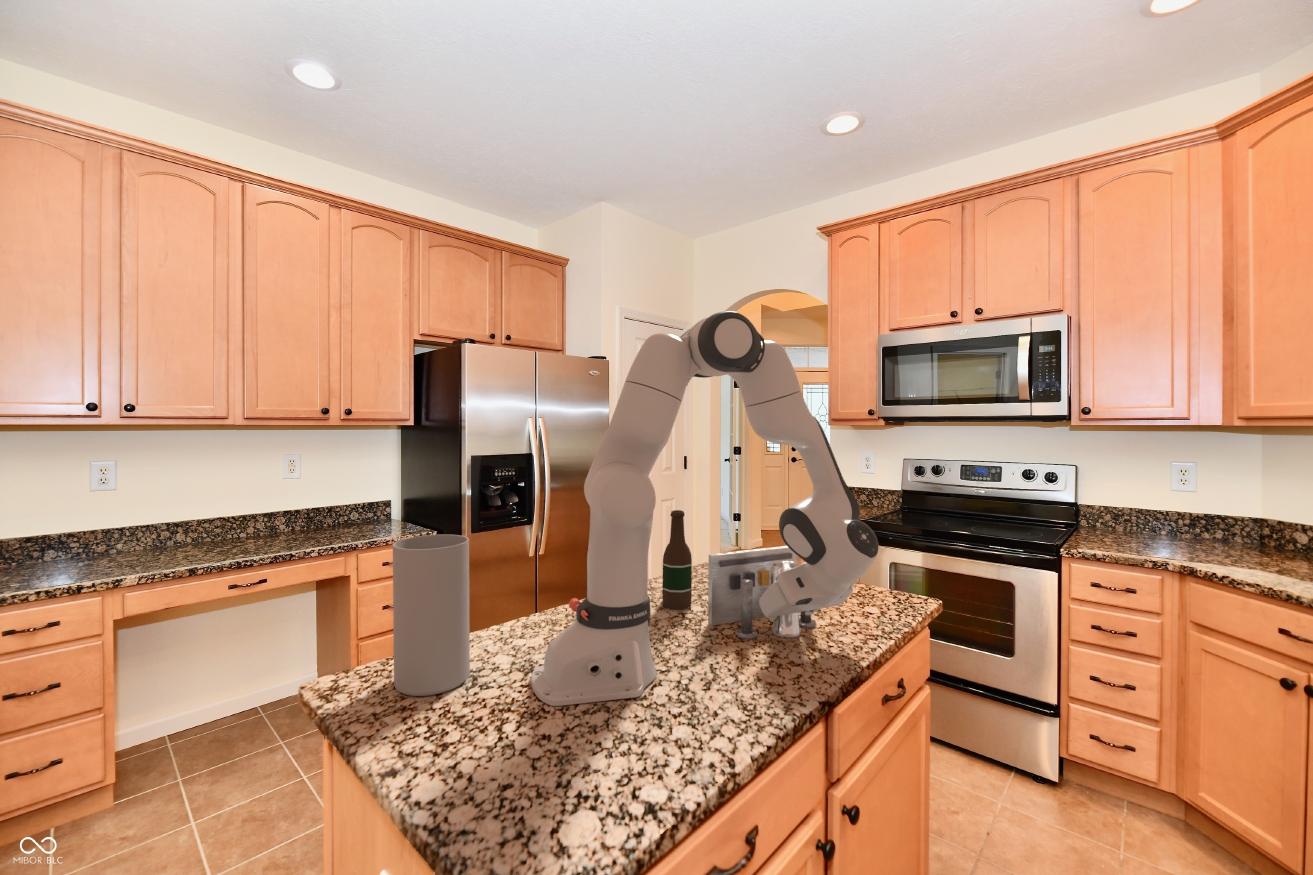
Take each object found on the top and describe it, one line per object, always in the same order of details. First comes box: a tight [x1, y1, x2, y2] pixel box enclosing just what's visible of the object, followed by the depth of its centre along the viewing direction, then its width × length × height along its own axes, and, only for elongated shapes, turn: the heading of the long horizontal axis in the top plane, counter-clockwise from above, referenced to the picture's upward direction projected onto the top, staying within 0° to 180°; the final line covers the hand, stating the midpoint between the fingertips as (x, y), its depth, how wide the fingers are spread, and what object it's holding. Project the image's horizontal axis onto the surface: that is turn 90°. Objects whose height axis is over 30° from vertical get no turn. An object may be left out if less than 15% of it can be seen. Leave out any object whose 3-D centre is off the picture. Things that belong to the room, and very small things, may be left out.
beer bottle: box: [662, 509, 693, 611], centre depth 139 cm, size 8×8×24 cm
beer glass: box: [771, 562, 801, 639], centre depth 121 cm, size 7×7×15 cm
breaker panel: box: [707, 545, 798, 627], centre depth 130 cm, size 24×3×16 cm, turn 114°
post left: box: [736, 579, 758, 641], centre depth 119 cm, size 4×4×12 cm
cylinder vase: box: [392, 534, 471, 697], centre depth 98 cm, size 12×12×25 cm
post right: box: [799, 611, 817, 629], centre depth 126 cm, size 4×4×12 cm
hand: (789, 614), depth 118 cm, fingers open, 8 cm apart
